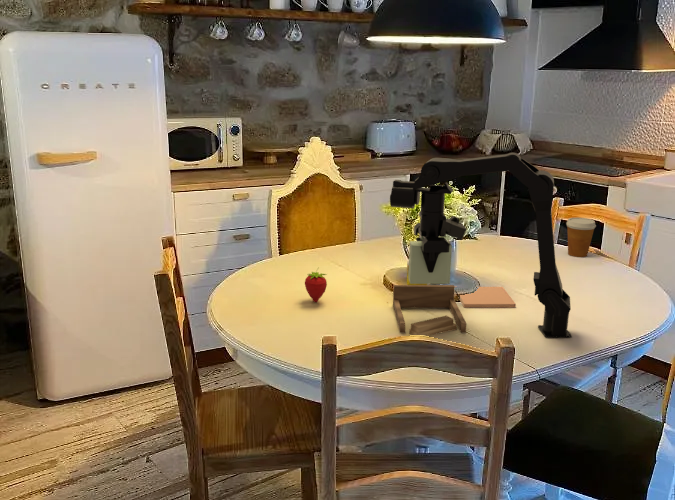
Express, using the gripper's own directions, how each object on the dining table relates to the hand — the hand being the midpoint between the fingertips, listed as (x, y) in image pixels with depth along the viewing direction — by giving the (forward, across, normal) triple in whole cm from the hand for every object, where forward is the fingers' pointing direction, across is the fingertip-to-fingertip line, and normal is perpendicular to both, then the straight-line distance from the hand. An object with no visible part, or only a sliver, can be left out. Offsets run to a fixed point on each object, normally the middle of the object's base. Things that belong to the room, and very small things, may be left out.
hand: (429, 269), depth 171 cm
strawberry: (+13, +11, +29) cm, 34 cm away
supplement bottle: (+13, +18, 0) cm, 22 cm away
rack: (+13, 0, 0) cm, 13 cm away
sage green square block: (+3, 0, 0) cm, 3 cm away
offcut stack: (+13, -9, 0) cm, 16 cm away
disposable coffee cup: (+13, +57, -60) cm, 84 cm away
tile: (+13, +14, -18) cm, 26 cm away
